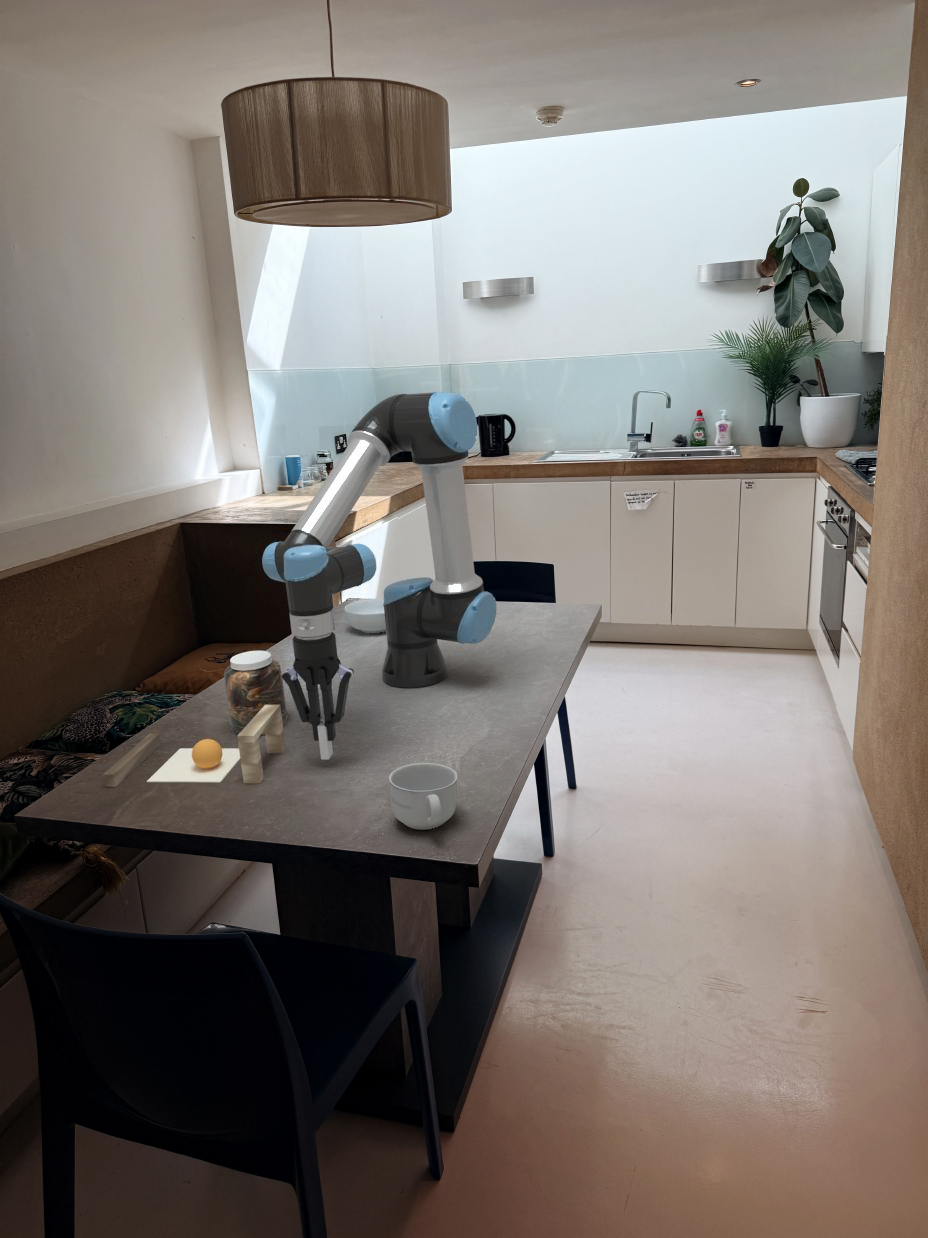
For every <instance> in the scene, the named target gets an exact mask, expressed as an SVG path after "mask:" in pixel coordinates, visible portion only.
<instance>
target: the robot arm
mask: <svg viewBox="0 0 928 1238" xmlns="http://www.w3.org/2000/svg"><path fill="white" fill-rule="evenodd" d="M477 435H478V423H477V418H476V413H475V411H474V409H473V407H472V405H471V404H470V402H469V401H467V399H466V398H465V397H464V396H463V395H461V394H459V393H456V392H455V393H454V392H444V391H436V392H424V393H423V392H421V393H400V394H399V393H398V394H394V395H391V396H388V397H387V398H385V399H383V400H382V401H380V402H378V403H377V404H375V405H374V406H373V407H372V408H371V409H370V410H369V411H368V412H367V413H366V414H364V416H362V418H361V419H360V420H358V423H357V424H356V425H355V426H354V428H353V429H352V431H351V432H350V433H349V435H348V437H347V447H346V448H345V450H344V452H343V453H342V454H341V456H340V457H339V459H338V460H337V462H336V463H335V465H334V467H332V470H330V472H329V474H328V476H327V477H326V479H325V480H324V481H323V483H322V484H321V486H320V487H319V489H318V490H317V492H316V493H315V495H314V496H313V498H312V499H311V501H310V502H309V504H308V506H307V507H306V509H305V510H304V512H303V513H302V515H301V516H300V518H299V519H298V521H297V522H296V524H295V525H294V527H293V528H292V530H291V531H290V533H289V534H288V535H287V537H286V538H285V540H284V541H278V542H277V541H275V542H272V543H270V544H269V545H268V546H266V547H265V550H264V551H263V555H262V558H261V560H262V561H261V562H262V563H261V564H262V568H263V571H264V573H265V574H266V576H268V578H269V579H271V580H273V581H278V582H282V583H285V587H286V597H287V601H288V602H287V603H288V610H289V620H290V629H291V634H292V635H293V637H292V647H293V656H294V661H293V664H292V667H291V668H288V669H286V670H285V671H284V673H282V679H283V681H284V682H285V683H286V685H287V686H288V689H289V691H290V694H291V696H292V698H293V702H294V704H295V708H296V710H297V713H298V716H299V718H300V721H301V722H302V723H308V724H310V725H311V726H312V728H311V729H312V734H313V737H312V738H313V740H314V742H318V746H319V754H320V759H321V760H330V758H331V756H332V755H333V753H334V751H333V742H334V740H335V739H336V737H337V734H336V723H340V722H341V720H342V719H344V718H343V717H344V716H345V712H346V711H345V710H346V705H347V698H348V691H349V685H350V680H351V678H352V677H353V675H354V674H355V673H354V672H355V670H354V669H353V668H351V667H350V668H347V667H346V666H344V665H342V663H341V660H340V659H339V656H338V648H337V639H336V638H337V637H336V633H334V631H335V619H334V611H333V601H332V596H333V595H335V594H338V593H341V592H343V591H345V590H349V589H352V588H356V587H360V586H362V585H364V584H365V583H368V582H369V581H371V580H372V579H373V577H374V576H375V574H376V572H377V558H376V556H375V554H374V553H373V551H372V550H371V548H370V547H368V546H367V545H366V544H363V543H353V544H351V543H350V544H347V545H344V546H331V545H330V544H331V543H332V541H333V539H334V538H335V536H336V535H337V533H338V532H339V531H340V529H341V527H342V526H343V524H344V522H345V521H346V519H347V518H348V517H349V515H350V513H351V512H352V510H353V508H354V507H355V505H356V504H357V502H358V501H359V499H360V498H361V496H362V495H363V493H364V492H365V490H366V488H367V487H368V485H369V483H370V481H371V480H372V479H373V477H374V475H375V474H376V472H377V471H378V469H379V468H380V467H382V466H385V465H387V464H388V463H389V461H390V460H391V458H392V457H393V456H394V455H396V454H398V453H400V452H411V457H412V464H413V465H414V466H415V467H416V468H418V469H419V470H420V471H421V477H422V485H423V493H424V500H425V501H424V502H425V508H426V514H427V521H428V529H429V536H430V544H431V545H430V546H431V553H432V561H433V568H434V576H435V579H433V578H431V577H426V576H425V577H414V578H408V579H404V580H399V581H395V582H392V583H390V584H388V585H386V587H385V588H384V589H383V599H384V603H383V606H384V613H385V623H386V641H387V649H386V653H385V657H384V662H383V665H382V673H381V674H382V680H383V682H384V683H385V684H386V685H389V686H391V687H397V688H403V689H404V688H413V689H414V688H421V687H427V686H432V685H436V684H437V683H440V682H442V681H443V680H445V679H446V677H447V676H448V669H447V668H448V667H447V663H446V661H445V658H444V655H443V653H442V651H441V649H440V646H439V644H438V643H439V642H438V640H440V641H446V642H454V643H459V644H472V645H475V644H480V643H481V642H483V641H484V640H485V639H486V638H487V637H488V636H489V635H490V633H491V631H492V629H493V626H494V625H495V621H496V617H497V616H496V615H497V600H496V598H495V597H494V596H493V594H492V593H491V592H488V591H485V589H484V581H483V579H482V577H481V576H480V575H477V574H476V573H475V565H474V563H475V562H474V556H473V548H472V539H471V538H472V537H471V528H470V522H469V513H468V503H467V495H466V487H465V485H466V484H465V477H464V470H463V469H464V467H463V465H464V464H465V462H466V461H467V460H468V459H469V451H470V450H471V449H472V448H473V447H474V445H475V444H476V441H477V439H476V436H477ZM337 673H338V679H339V680H340V681H339V685H338V689H337V691H338V692H337V698H336V705H335V706H334V704H335V703H334V697H333V688H332V686H333V679H334V677H335V676H336V674H337ZM298 677H300V678H301V679H302V680H303V681H304V682H305V690H306V691H307V698H306V696H305V693H304V691H303V687H302V685H301V682H300V679H299V678H298ZM318 685H319V686H318ZM319 688H320V692H321V699H322V707H323V715H324V716H323V715H321V703H320V693H319ZM307 699H308V701H307ZM323 717H324V719H323V720H322V718H323Z"/></svg>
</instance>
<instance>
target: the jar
mask: <svg viewBox="0 0 928 1238" xmlns="http://www.w3.org/2000/svg"><path fill="white" fill-rule="evenodd" d="M229 661H230V665H229V666H228V667H226V668H225V670H224V672H223V676H224V677H223V678H224V688H225V689H224V690H225V696H226V702H227V710H228V718H229V723H230V724H229V725H230V729H231V732H232V733H233V734H235V735H236V736H238V734H239V733H240V732H241V731H242V730H243V729H244V728H245V727H246V726H247V724H248V723H249V722H250V721H251V720H252V719H253V718H254V717H255V716H256V714H257V713H258V712H259V711H260V710H261V709H262V708H263V707H264V706H265V705H280V707H281V715H282V723H283V728H284V727H285V726H286V725H287V724H288V711H287V703H286V697H285V688H284V682H283V681H284V680H283V678H282V675H283V673H282V667H281V665H280V664H281V663H279V661H278V660H276V659H272V653H271V652H270V651H267V650H249V651H243V652H241V653H237V654H236V655H234V656H232V657H231V658H230V660H229ZM260 736H265V731H263V733H262V734H261V735H260Z"/></svg>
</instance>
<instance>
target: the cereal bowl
mask: <svg viewBox="0 0 928 1238" xmlns="http://www.w3.org/2000/svg"><path fill="white" fill-rule="evenodd" d="M383 603H384V598H371V599H369V598H368V599H363V600H357V601H353V602H350V603H348V604H346V605H345V607H344V617H345V620H346V622H347V624H349V626H351V627H352V628H354V629H356V630H359V631H360V632H362V633H364V634H369V633H376V634H381V633H380V632H382V633H385V632H384V631H386V623H385V613H384V606H383Z"/></svg>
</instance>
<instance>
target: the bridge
mask: <svg viewBox="0 0 928 1238" xmlns="http://www.w3.org/2000/svg"><path fill="white" fill-rule="evenodd" d="M263 731H265V735H264V737H265V739H264V740H265V745H266V752H267V754H283V753H284V752H285V750H286V741H285V732H284V727H283V723H282V715H281V707H280V705H265V706H264V707H263V708H262V709H261V710H260V711H259V712H258V713H257V714H256V716H255V717H254V718H253V719H252V720H251V721H250V722H249V723H248V724H247V726H246V727H245V728H244V729H243V730H242V731H241V732H240V733H239V734H238V735H236V736H237V738H236V739H237V743H238V745H237V746H238V748H239V752H240V760H239V761H240V765H241V773H242V774H241V775H242V779H243V781H242V782H243V784H261V782H262V781H263V780H264V776H265V775H264V772H263V771H264V770H263V762H262V755H261V747H260V740H259V737H260V736H262V735H261V734H262V733H263Z"/></svg>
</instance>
